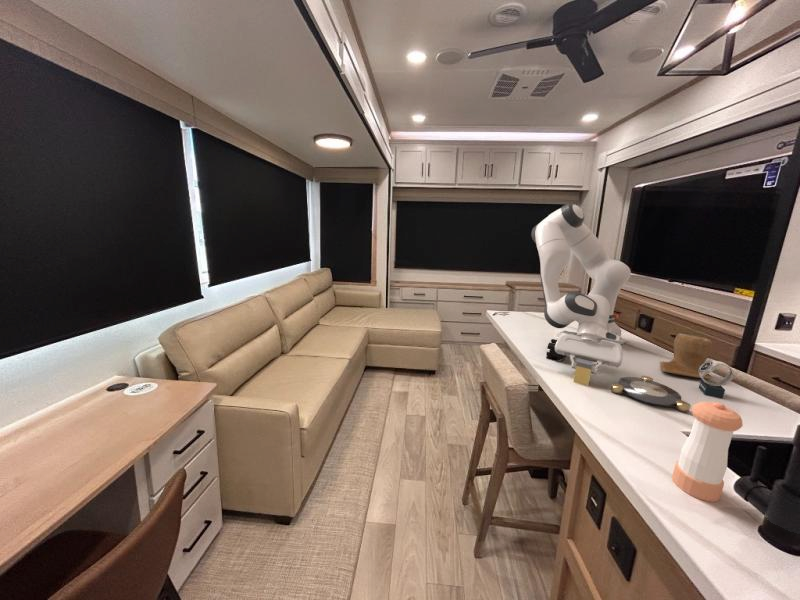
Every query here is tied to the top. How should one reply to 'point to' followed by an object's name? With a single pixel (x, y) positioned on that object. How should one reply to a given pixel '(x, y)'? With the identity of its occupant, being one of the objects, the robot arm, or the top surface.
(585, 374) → the block
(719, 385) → the watch
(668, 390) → the levelling base
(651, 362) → the top surface
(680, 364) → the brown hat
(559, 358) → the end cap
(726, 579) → the top surface
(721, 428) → the pepper shaker
